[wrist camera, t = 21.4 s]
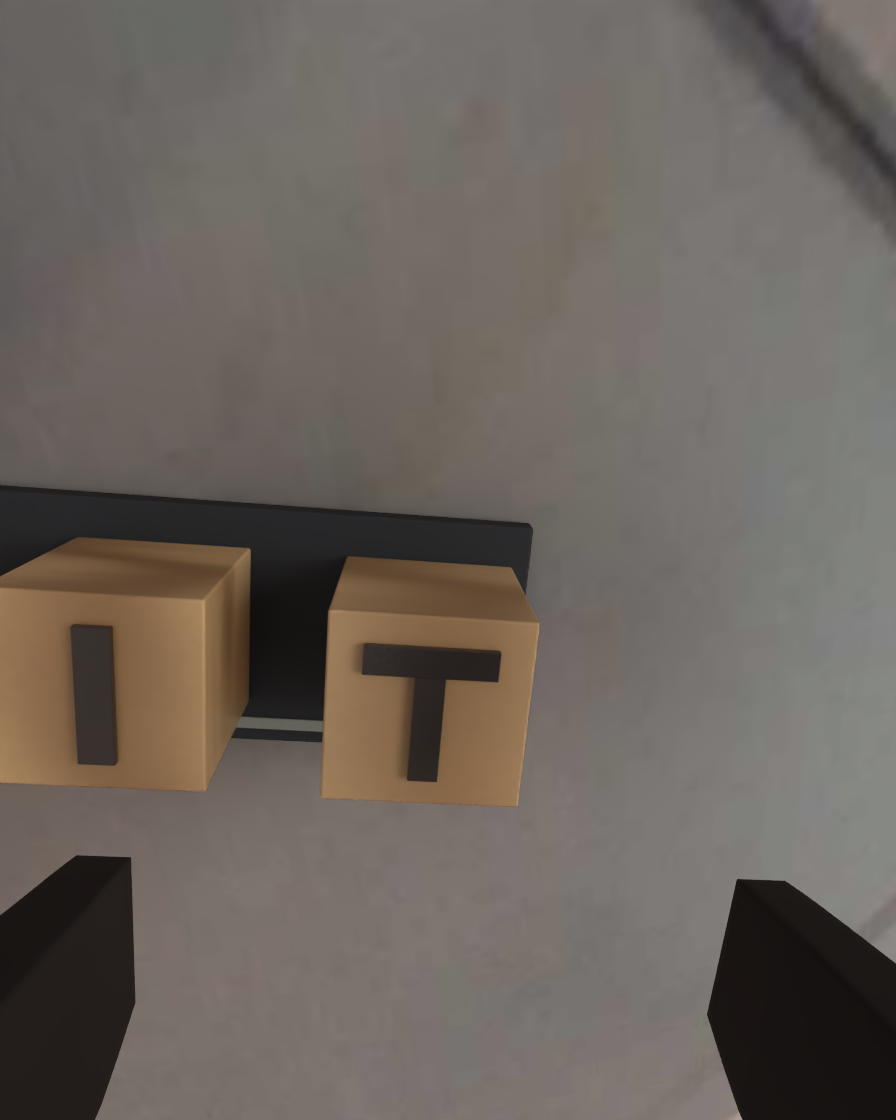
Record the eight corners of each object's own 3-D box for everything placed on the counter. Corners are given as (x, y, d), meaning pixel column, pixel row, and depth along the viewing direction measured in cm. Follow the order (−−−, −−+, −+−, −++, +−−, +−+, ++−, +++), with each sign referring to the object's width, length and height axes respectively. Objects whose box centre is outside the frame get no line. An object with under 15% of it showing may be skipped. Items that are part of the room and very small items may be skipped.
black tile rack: (-179, 706, 18) (-200, 718, 18) (-215, 469, 17) (-239, 473, 16) (504, 741, 19) (508, 753, 19) (529, 523, 18) (534, 528, 17)
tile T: (338, 707, 18) (318, 804, 14) (346, 554, 17) (326, 612, 13) (495, 716, 18) (519, 813, 14) (512, 566, 17) (542, 625, 13)
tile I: (84, 693, 18) (-10, 788, 14) (76, 535, 17) (-28, 588, 13) (249, 702, 18) (202, 797, 14) (251, 547, 17) (201, 602, 13)
